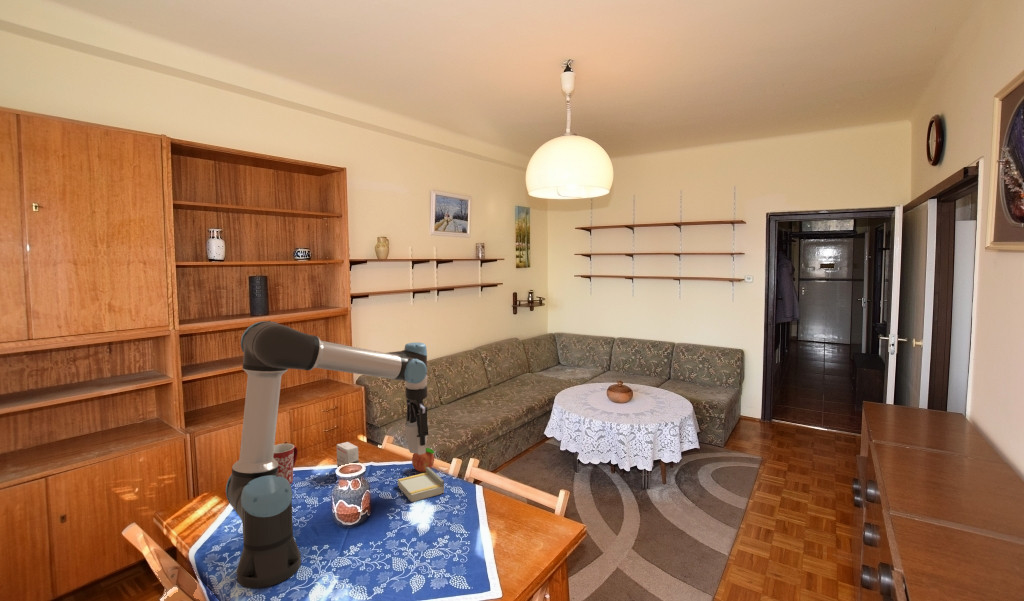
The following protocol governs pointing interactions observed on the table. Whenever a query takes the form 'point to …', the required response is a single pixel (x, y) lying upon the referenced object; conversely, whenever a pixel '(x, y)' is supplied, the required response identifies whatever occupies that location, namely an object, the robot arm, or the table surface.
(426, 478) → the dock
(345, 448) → the ink box
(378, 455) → the table surface
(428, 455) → the fruit
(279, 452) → the mug
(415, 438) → the cup
